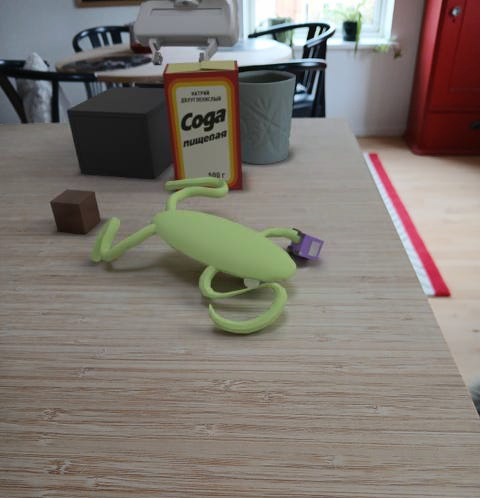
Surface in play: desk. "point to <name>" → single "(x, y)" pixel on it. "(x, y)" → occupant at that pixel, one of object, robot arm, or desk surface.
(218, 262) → the figurine
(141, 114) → the dark grey box
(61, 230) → the block
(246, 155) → the grey green embossed cup
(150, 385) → the desk surface
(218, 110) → the baking soda box
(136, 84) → the basket
